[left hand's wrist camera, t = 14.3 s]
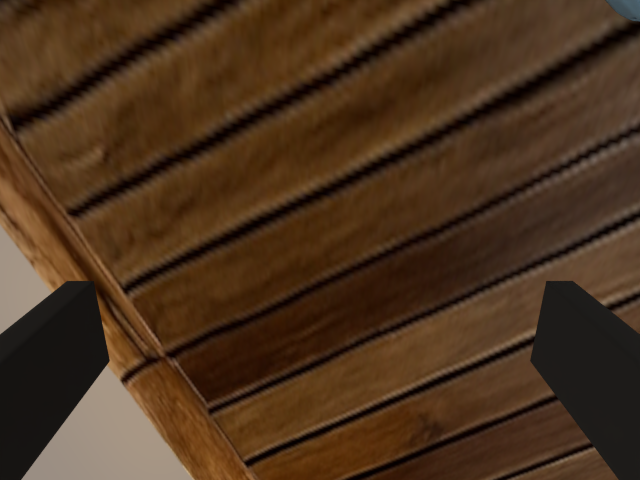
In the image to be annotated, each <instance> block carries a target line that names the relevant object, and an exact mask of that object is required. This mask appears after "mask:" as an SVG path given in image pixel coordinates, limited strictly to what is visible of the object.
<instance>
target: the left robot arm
mask: <svg viewBox="0 0 640 480" xmlns="http://www.w3.org/2000/svg"><path fill="white" fill-rule="evenodd" d="M605 1H606V2H607V3H608V4H609V5H610V6H611V7H612V8H613V9H614V10H615V11H616V12H617V13H618V14H620V15H622V16H623V17H625V18H627V19H630V20H632V21H640V0H605ZM109 361H110V360H109V355H108V350H107V345H106V340H105V335H104V330H103V325H102V320H101V315H100V310H99V306H98V301H97V296H96V291H95V286H94V281H67V282H65V283H64V284H63V285H62V286H60V287H59V288H58V289H57V290H55V291H54V292H53V293H52V294H50V295H49V296H48V297H47V298H45V299H44V300H43V301H42V302H40V303H39V304H38V305H37V306H35V307H34V308H33V309H32V310H30V311H29V312H28V313H27V314H25V315H24V316H23V317H22V318H20V319H19V320H18V321H17V322H15V323H14V324H13V325H12V326H10V327H9V328H8V329H7V330H5V331H4V332H3V333H2V334H0V480H21V479H22V478H23V476H24V475H25V474H26V472H27V471H28V470H29V468H30V467H31V466H32V464H33V463H34V462H35V460H36V459H37V458H38V456H39V455H40V454H41V452H42V451H43V450H44V448H45V447H46V446H47V444H48V443H49V442H50V440H51V439H52V438H53V436H54V435H55V434H56V432H57V431H58V430H59V428H60V427H61V425H62V424H63V423H64V422H65V420H66V419H67V418H68V416H69V415H70V414H71V412H72V411H73V409H74V408H75V407H76V405H77V404H78V403H79V401H80V400H81V399H82V397H83V396H84V395H85V393H86V392H87V391H88V389H89V388H90V387H91V385H92V384H93V383H94V381H95V380H96V379H97V377H98V376H99V375H100V373H101V372H102V371H103V369H104V368H105V367H106V365H107V364H108V363H109ZM530 361H531V363H532V364H533V365H534V367H535V368H536V369H537V371H538V372H539V373H540V375H541V376H542V377H543V379H544V380H545V381H546V383H547V384H548V385H549V387H550V388H551V389H552V391H553V392H554V393H555V395H556V396H557V397H558V399H559V400H560V401H561V403H562V404H563V405H564V407H565V408H566V409H567V411H568V412H569V414H570V415H571V416H572V418H573V419H574V420H575V422H576V423H577V424H578V426H579V427H580V428H581V430H582V431H583V432H584V434H585V435H586V436H587V438H588V439H589V440H590V442H591V443H592V444H593V446H594V447H595V448H596V450H597V451H598V452H599V454H600V455H601V456H602V458H603V459H604V460H605V462H606V463H607V464H608V466H609V467H610V468H611V470H612V471H613V472H614V474H615V475H616V476H617V478H618V479H619V480H640V334H638V333H637V332H636V331H635V330H633V329H632V328H631V327H630V326H628V325H627V324H626V323H625V322H623V321H622V320H621V319H620V318H618V317H617V316H616V315H615V314H613V313H612V312H611V311H610V310H608V309H607V308H606V307H605V306H603V305H602V304H601V303H600V302H598V301H597V300H596V299H595V298H593V297H592V296H591V295H590V294H588V293H587V292H586V291H585V290H583V289H582V288H581V287H580V286H578V285H577V284H576V283H575V282H573V281H546V286H545V291H544V296H543V301H542V305H541V310H540V315H539V320H538V325H537V330H536V335H535V340H534V345H533V350H532V355H531V360H530Z"/></svg>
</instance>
